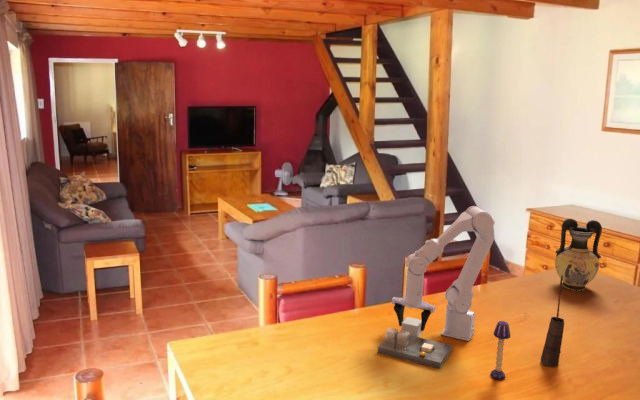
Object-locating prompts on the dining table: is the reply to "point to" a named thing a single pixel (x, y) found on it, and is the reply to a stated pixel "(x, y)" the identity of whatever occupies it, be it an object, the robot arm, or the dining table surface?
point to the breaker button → (427, 347)
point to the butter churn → (553, 338)
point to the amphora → (578, 254)
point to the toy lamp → (500, 348)
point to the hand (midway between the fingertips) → (411, 327)
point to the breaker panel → (413, 348)
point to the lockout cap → (412, 326)
